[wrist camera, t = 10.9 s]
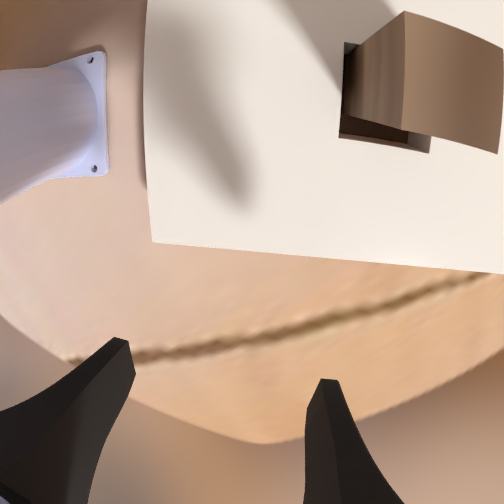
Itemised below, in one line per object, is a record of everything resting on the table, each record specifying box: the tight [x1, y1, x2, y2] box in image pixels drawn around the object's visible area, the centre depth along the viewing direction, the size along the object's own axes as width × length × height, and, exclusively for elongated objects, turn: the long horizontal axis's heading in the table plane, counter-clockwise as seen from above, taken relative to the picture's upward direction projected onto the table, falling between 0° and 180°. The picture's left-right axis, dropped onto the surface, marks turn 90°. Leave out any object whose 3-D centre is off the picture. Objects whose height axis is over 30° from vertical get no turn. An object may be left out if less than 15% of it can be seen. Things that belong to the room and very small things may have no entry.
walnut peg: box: [343, 11, 504, 155], centre depth 9 cm, size 3×3×9 cm
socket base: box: [143, 0, 504, 274], centre depth 12 cm, size 22×16×3 cm
